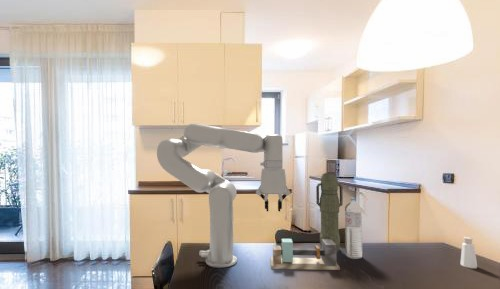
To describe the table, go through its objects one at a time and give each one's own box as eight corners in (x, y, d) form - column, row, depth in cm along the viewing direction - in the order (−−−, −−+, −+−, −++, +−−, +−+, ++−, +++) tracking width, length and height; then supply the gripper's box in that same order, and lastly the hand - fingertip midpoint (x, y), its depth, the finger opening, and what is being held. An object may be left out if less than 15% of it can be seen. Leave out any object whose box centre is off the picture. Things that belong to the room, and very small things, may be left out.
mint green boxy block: (282, 261, 106) (282, 242, 106) (281, 257, 110) (281, 238, 111) (292, 262, 106) (292, 242, 106) (291, 257, 110) (291, 238, 111)
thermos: (314, 246, 130) (313, 172, 131) (338, 245, 131) (337, 172, 132) (320, 252, 121) (319, 174, 122) (346, 252, 122) (345, 174, 123)
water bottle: (364, 260, 112) (363, 199, 113) (346, 258, 114) (345, 199, 115) (360, 254, 119) (359, 197, 120) (344, 253, 120) (343, 196, 121)
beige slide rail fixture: (271, 268, 104) (271, 244, 104) (270, 259, 113) (270, 237, 113) (339, 269, 103) (339, 245, 103) (333, 260, 112) (333, 238, 112)
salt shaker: (458, 262, 111) (457, 234, 111) (475, 264, 108) (474, 236, 109) (461, 267, 106) (461, 238, 106) (479, 269, 103) (478, 240, 104)
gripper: (252, 165, 106) (252, 212, 106) (295, 165, 106) (295, 213, 105) (252, 164, 114) (252, 208, 113) (292, 164, 113) (293, 209, 113)
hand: (273, 210), depth 109 cm, fingers open, 4 cm apart
